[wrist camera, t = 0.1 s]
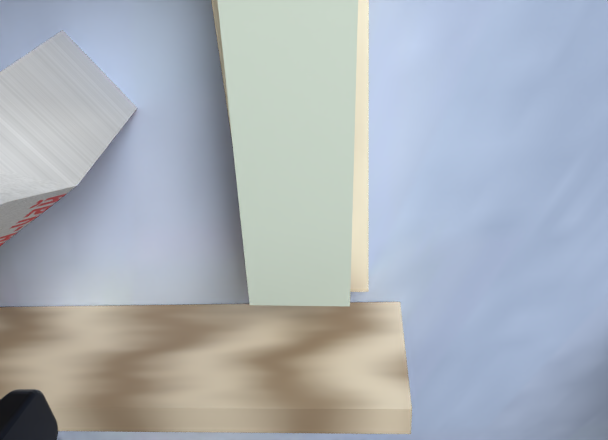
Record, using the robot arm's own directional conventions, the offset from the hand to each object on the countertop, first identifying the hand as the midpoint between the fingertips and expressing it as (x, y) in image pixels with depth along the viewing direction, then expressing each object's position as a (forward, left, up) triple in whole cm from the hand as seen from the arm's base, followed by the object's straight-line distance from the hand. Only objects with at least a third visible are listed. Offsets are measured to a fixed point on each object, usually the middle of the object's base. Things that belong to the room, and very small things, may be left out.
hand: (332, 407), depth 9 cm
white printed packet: (-1, +12, -15) cm, 19 cm away
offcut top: (-1, +2, -13) cm, 13 cm away
